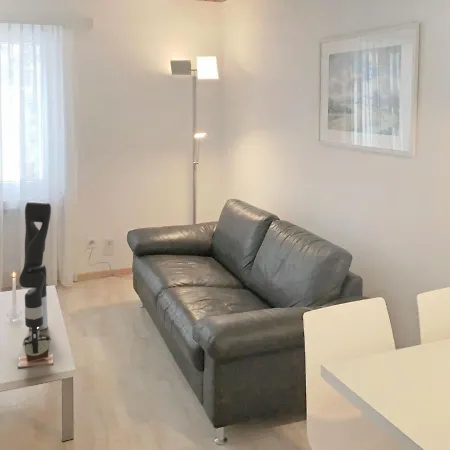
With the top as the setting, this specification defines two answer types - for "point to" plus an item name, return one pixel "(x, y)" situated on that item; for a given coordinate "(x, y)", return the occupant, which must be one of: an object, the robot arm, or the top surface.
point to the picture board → (35, 362)
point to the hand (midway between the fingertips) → (35, 349)
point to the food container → (42, 348)
